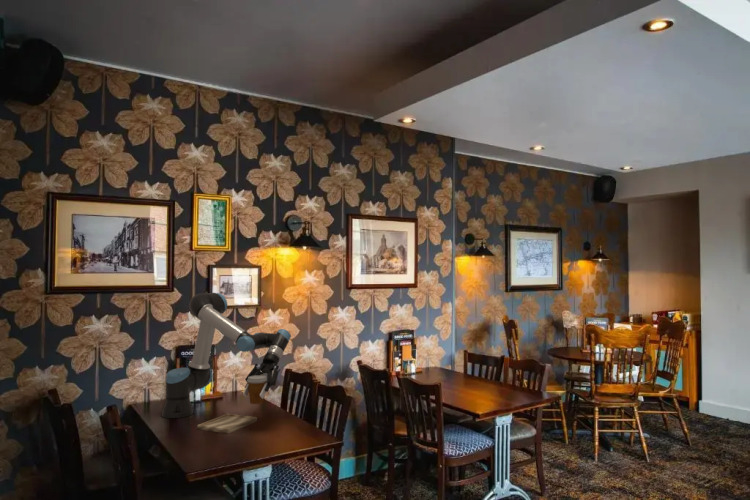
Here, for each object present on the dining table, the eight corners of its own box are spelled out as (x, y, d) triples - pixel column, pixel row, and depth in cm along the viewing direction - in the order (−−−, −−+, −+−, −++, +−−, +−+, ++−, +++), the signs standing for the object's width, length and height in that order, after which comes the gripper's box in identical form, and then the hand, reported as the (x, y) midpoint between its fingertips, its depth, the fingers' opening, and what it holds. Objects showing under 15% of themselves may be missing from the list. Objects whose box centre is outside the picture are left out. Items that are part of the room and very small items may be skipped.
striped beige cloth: (197, 429, 243) (197, 424, 244) (227, 417, 264) (227, 413, 264) (227, 433, 236) (228, 429, 236) (256, 421, 257) (256, 417, 257)
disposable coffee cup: (271, 401, 245) (271, 376, 246) (258, 405, 237) (259, 379, 237) (255, 399, 249) (255, 374, 250) (242, 403, 241) (242, 377, 241)
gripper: (251, 350, 257) (230, 389, 242) (288, 353, 249) (268, 393, 234) (258, 359, 262) (237, 398, 247) (294, 362, 254) (275, 402, 238)
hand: (252, 395), depth 240 cm, fingers closed on disposable coffee cup, 9 cm apart
